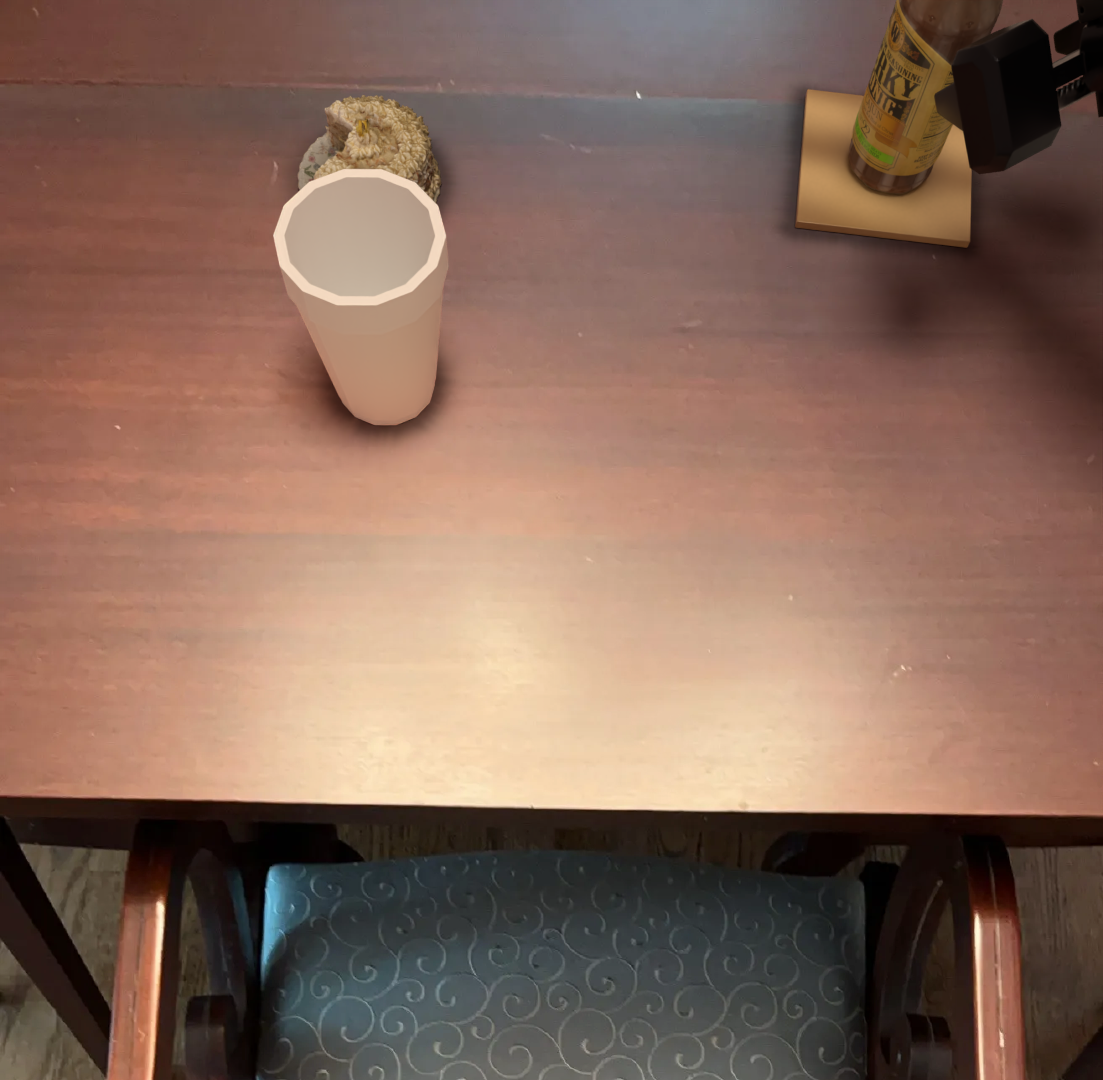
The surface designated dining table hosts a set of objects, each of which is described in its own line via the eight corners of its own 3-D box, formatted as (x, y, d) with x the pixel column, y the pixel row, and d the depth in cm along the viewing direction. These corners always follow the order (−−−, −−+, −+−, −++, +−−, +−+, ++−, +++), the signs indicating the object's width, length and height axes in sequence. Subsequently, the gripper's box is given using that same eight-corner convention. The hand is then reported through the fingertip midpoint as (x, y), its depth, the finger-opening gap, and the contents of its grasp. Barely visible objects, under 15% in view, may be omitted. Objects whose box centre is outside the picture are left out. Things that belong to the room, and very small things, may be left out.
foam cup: (482, 357, 78) (474, 205, 65) (419, 466, 75) (398, 330, 63) (355, 305, 79) (323, 146, 66) (288, 411, 76) (242, 266, 64)
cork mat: (805, 95, 85) (807, 88, 84) (970, 114, 85) (973, 107, 84) (794, 227, 81) (796, 221, 81) (967, 247, 81) (970, 241, 81)
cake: (441, 131, 84) (442, 66, 79) (441, 246, 81) (442, 186, 76) (300, 123, 83) (292, 55, 78) (295, 239, 80) (286, 177, 75)
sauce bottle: (832, 138, 83) (923, -164, 64) (915, 123, 84) (1029, -181, 65) (860, 208, 81) (962, -81, 62) (945, 193, 82) (1072, -98, 63)
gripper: (1359, -252, 55) (1096, -143, 68) (1054, -104, 51) (840, -20, 65) (1365, 13, 60) (1121, 66, 73) (1089, 162, 57) (886, 189, 70)
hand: (997, 71), depth 70 cm, fingers open, 9 cm apart
